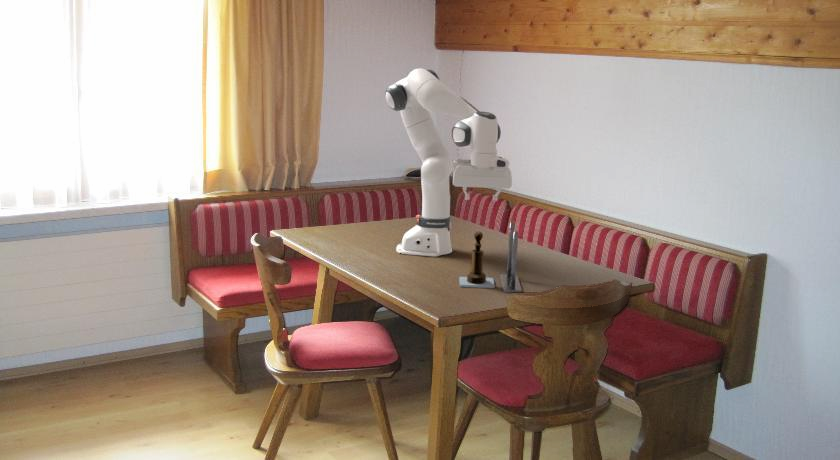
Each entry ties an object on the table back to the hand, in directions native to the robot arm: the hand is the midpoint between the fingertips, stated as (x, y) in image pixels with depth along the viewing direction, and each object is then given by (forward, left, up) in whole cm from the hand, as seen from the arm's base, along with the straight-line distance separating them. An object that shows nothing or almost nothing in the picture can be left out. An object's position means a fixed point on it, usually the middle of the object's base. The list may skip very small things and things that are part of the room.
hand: (481, 200), depth 297 cm
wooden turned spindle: (0, 0, -29) cm, 29 cm away
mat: (0, 0, -30) cm, 30 cm away
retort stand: (+12, 0, -30) cm, 32 cm away
